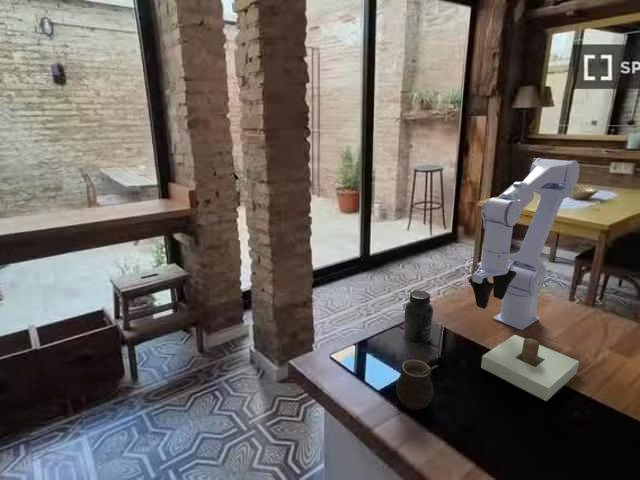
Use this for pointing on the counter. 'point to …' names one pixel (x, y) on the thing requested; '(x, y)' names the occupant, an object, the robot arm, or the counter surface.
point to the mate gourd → (415, 384)
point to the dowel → (530, 351)
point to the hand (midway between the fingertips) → (489, 302)
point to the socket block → (530, 368)
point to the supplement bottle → (418, 318)
